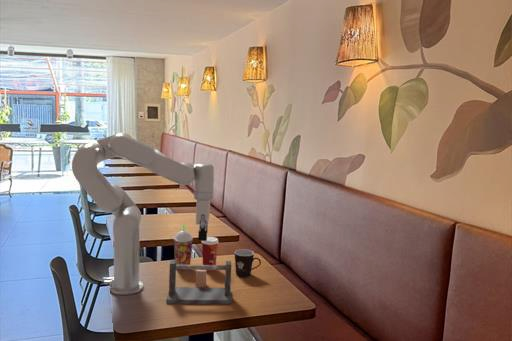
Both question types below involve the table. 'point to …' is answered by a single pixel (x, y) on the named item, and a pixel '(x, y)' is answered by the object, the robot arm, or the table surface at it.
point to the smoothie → (183, 247)
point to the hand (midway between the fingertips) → (203, 236)
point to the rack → (199, 293)
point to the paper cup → (209, 251)
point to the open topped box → (200, 278)
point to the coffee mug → (244, 262)
